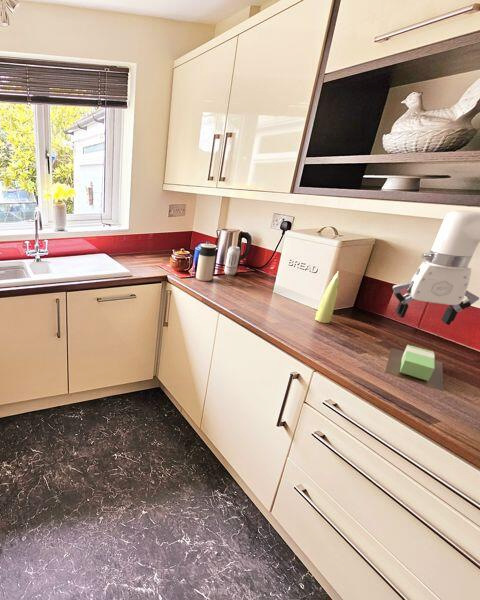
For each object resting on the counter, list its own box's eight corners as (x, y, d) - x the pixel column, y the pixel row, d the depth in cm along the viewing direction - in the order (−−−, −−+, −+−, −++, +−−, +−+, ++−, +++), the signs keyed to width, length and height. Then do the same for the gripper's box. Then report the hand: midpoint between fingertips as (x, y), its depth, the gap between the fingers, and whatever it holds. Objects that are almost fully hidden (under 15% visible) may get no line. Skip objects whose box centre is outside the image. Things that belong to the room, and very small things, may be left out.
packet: (428, 363, 102) (434, 351, 101) (428, 381, 93) (434, 368, 91) (402, 355, 106) (407, 344, 105) (399, 372, 97) (404, 359, 95)
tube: (334, 324, 128) (350, 275, 120) (321, 324, 127) (337, 275, 120) (323, 317, 133) (338, 270, 126) (311, 318, 133) (325, 271, 125)
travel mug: (214, 280, 174) (220, 246, 167) (201, 281, 172) (206, 247, 165) (206, 276, 181) (211, 243, 174) (192, 277, 179) (197, 244, 173)
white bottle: (223, 274, 184) (228, 247, 178) (224, 271, 189) (228, 245, 183) (235, 276, 182) (240, 249, 176) (235, 273, 187) (240, 246, 181)
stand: (441, 363, 103) (442, 362, 103) (442, 392, 90) (443, 390, 90) (390, 349, 111) (391, 347, 111) (384, 373, 98) (384, 372, 97)
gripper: (410, 259, 88) (387, 318, 94) (503, 268, 81) (471, 331, 87) (400, 253, 94) (379, 308, 100) (486, 260, 87) (457, 320, 93)
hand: (422, 319), depth 94 cm, fingers open, 9 cm apart
